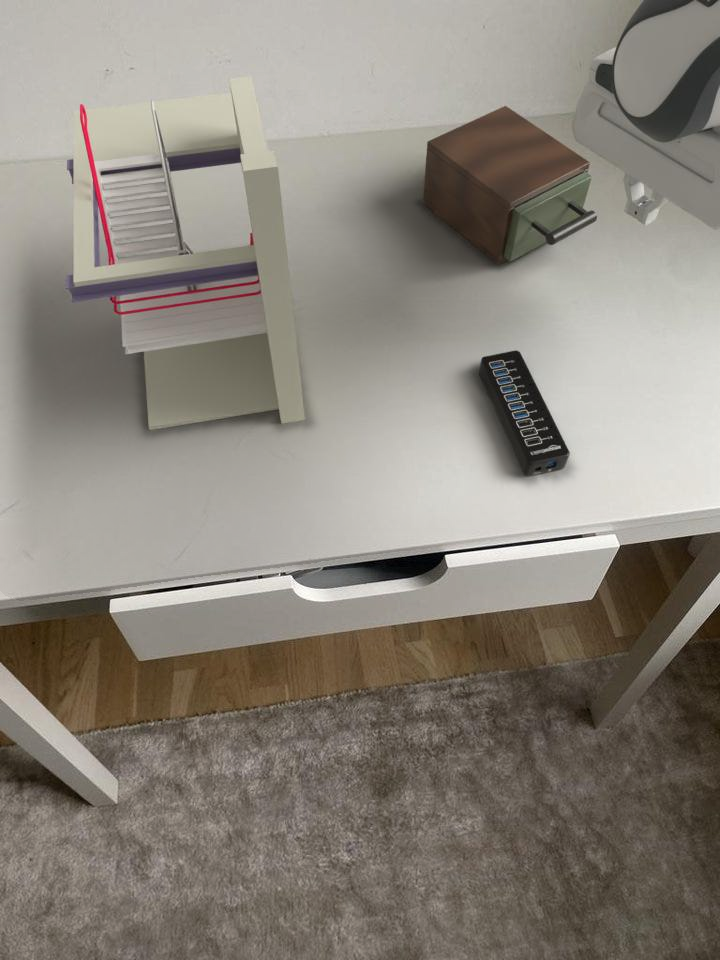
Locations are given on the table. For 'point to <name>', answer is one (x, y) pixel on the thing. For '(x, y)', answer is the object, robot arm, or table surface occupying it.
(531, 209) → the drawer
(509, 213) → the cabinet
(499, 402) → the multiport hub
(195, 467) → the table surface
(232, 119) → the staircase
